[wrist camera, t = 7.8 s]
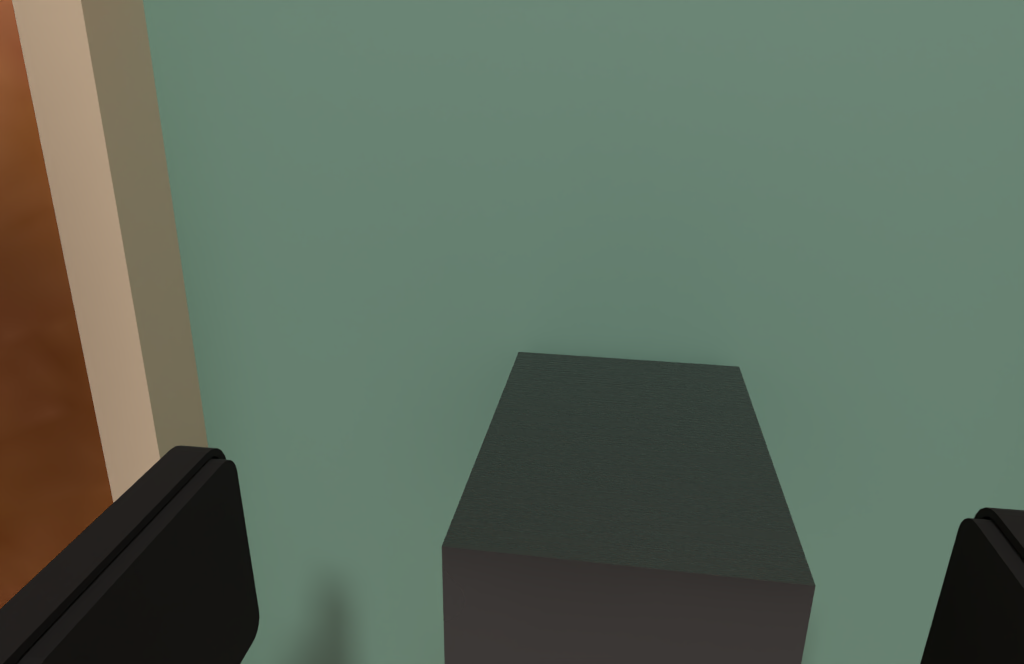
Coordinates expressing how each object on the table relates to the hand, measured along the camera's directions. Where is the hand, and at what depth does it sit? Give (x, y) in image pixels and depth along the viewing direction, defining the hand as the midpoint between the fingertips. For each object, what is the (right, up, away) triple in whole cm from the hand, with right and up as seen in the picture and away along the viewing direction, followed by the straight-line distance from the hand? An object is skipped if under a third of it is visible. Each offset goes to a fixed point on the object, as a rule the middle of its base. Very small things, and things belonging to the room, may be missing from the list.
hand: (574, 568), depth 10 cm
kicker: (+1, -1, +5) cm, 6 cm away
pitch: (+1, 0, +7) cm, 7 cm away
